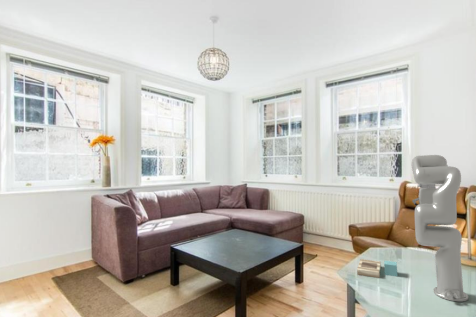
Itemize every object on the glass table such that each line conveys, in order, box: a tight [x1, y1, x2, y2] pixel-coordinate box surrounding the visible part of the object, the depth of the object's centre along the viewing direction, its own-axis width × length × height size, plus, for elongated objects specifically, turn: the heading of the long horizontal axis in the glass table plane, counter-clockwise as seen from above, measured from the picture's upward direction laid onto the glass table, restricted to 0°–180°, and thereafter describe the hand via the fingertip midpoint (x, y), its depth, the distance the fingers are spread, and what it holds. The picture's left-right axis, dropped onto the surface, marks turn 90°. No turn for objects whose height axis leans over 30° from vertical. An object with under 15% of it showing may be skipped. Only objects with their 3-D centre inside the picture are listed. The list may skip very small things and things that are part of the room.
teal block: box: [383, 260, 398, 277], centre depth 148 cm, size 6×6×6 cm
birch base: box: [356, 258, 382, 279], centre depth 153 cm, size 18×11×3 cm, turn 149°
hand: (430, 214), depth 161 cm, fingers open, 9 cm apart
